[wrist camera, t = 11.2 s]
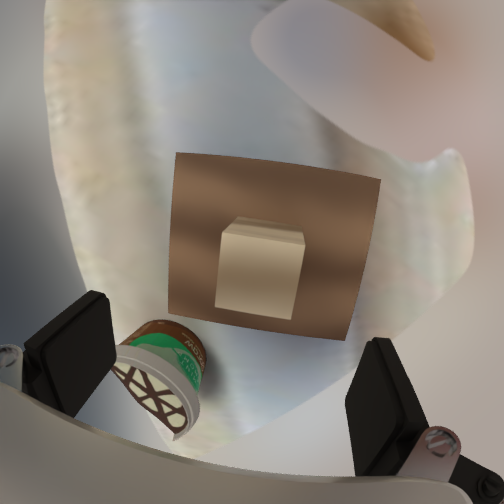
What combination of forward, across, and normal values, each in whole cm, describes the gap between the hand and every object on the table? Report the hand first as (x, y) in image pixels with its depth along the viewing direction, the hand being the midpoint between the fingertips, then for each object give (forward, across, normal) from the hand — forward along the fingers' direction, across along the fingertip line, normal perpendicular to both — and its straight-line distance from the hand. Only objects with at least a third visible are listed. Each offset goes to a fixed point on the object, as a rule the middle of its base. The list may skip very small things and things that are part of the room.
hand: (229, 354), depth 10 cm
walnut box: (+20, 0, +1) cm, 20 cm away
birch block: (+15, 0, +1) cm, 15 cm away
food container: (+20, +8, +15) cm, 26 cm away
